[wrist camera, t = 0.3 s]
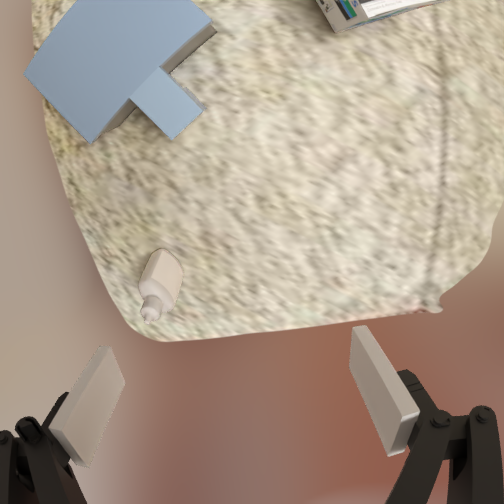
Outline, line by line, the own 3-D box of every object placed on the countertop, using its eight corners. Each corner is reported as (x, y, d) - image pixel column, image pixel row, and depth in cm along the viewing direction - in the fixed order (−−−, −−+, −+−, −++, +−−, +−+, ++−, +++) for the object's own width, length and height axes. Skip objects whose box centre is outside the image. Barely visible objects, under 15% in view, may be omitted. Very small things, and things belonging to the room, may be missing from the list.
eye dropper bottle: (180, 246, 42) (159, 305, 32) (185, 279, 45) (169, 339, 35) (150, 247, 42) (123, 303, 32) (157, 278, 45) (136, 337, 35)
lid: (135, -42, 17) (127, -50, 15) (257, 67, 25) (257, 66, 23) (35, 72, 23) (23, 73, 21) (137, 175, 31) (129, 183, 29)
